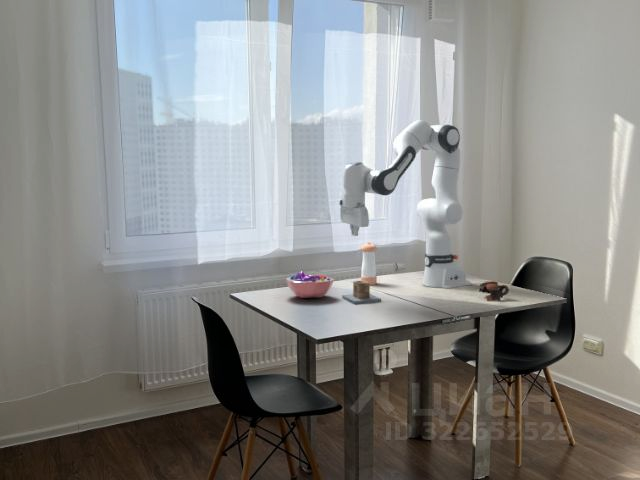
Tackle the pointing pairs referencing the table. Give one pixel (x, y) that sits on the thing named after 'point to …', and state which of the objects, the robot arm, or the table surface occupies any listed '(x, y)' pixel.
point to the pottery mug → (493, 290)
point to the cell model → (309, 285)
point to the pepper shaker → (369, 264)
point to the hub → (362, 300)
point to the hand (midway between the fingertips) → (354, 235)
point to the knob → (361, 289)
